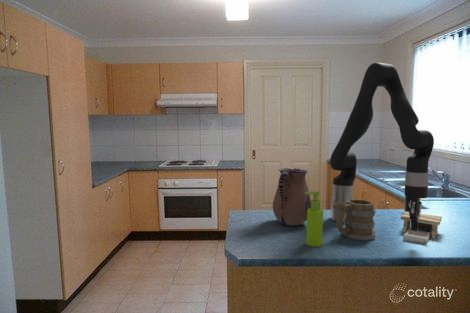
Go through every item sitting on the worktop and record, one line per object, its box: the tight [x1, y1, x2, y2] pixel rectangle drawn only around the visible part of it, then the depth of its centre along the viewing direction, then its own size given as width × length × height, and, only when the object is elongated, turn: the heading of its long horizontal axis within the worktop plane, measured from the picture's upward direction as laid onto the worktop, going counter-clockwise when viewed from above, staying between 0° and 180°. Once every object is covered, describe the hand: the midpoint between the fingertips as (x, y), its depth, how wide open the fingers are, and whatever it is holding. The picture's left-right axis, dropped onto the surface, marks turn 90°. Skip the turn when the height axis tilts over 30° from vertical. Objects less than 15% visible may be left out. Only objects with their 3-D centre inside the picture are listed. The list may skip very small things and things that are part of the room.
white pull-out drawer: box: [402, 227, 432, 245], centre depth 133 cm, size 15×8×2 cm, turn 144°
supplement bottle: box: [404, 195, 411, 212], centre depth 172 cm, size 7×7×12 cm
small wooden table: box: [400, 212, 443, 239], centre depth 140 cm, size 11×14×7 cm
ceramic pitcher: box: [272, 167, 311, 227], centre depth 148 cm, size 18×21×25 cm
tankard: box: [333, 198, 377, 241], centre depth 133 cm, size 20×13×15 cm, turn 110°
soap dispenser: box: [305, 190, 324, 248], centre depth 123 cm, size 6×7×20 cm
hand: (414, 230), depth 122 cm, fingers closed
